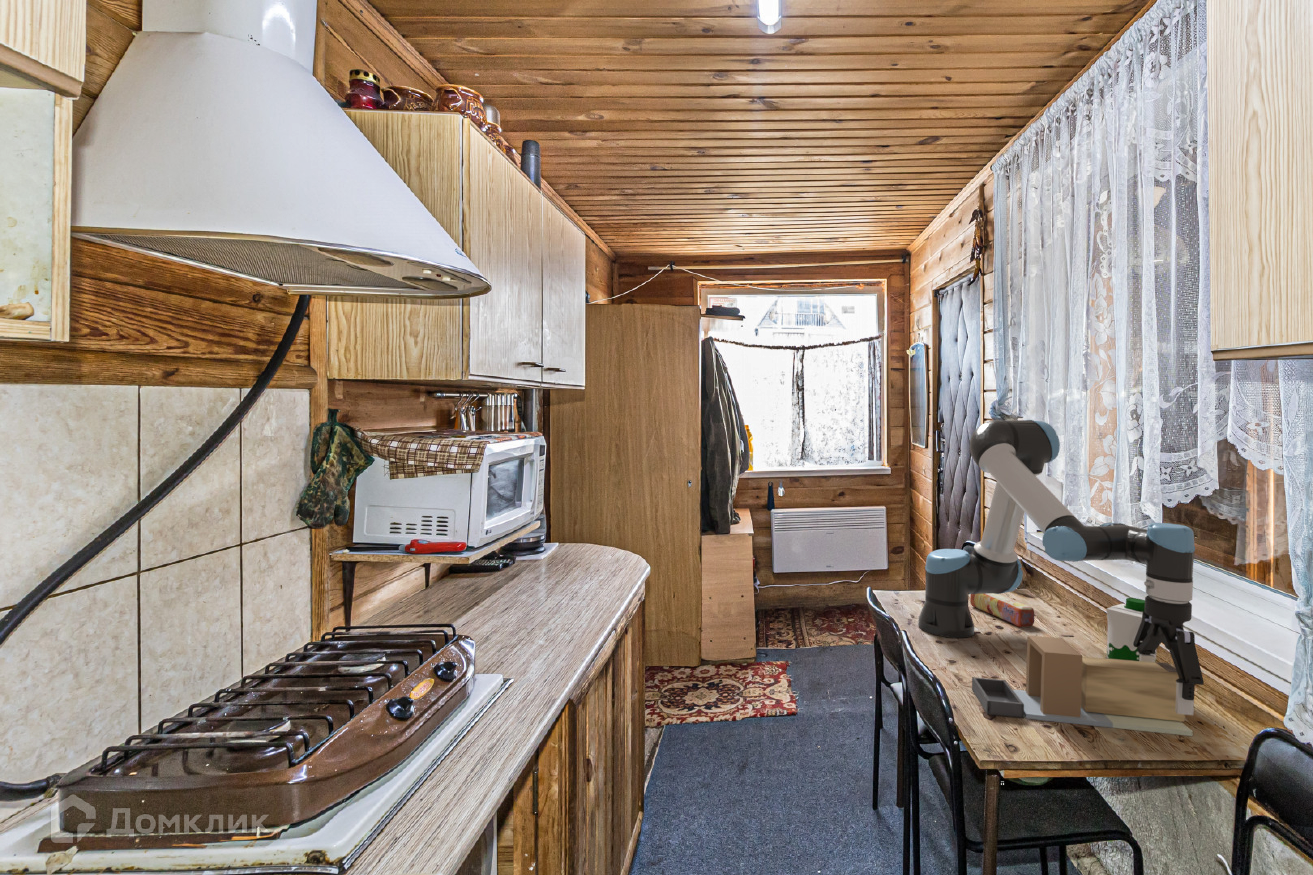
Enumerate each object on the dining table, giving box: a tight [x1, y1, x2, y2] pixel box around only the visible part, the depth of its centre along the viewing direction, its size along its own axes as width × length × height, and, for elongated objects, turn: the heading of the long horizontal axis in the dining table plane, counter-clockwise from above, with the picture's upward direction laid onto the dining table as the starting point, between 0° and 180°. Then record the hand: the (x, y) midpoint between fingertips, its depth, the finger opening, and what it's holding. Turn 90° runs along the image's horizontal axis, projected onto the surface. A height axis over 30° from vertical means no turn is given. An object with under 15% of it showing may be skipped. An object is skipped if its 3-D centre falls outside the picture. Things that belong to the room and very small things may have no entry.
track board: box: [1012, 634, 1194, 737], centre depth 131 cm, size 12×30×14 cm, turn 77°
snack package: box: [969, 593, 1035, 628], centre depth 194 cm, size 21×7×7 cm, turn 12°
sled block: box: [1081, 655, 1186, 722], centre depth 130 cm, size 5×18×10 cm, turn 77°
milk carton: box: [1106, 597, 1157, 663], centre depth 145 cm, size 9×9×20 cm
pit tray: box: [971, 676, 1025, 719], centre depth 136 cm, size 12×7×3 cm, turn 167°
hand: (1164, 698), depth 128 cm, fingers open, 13 cm apart
